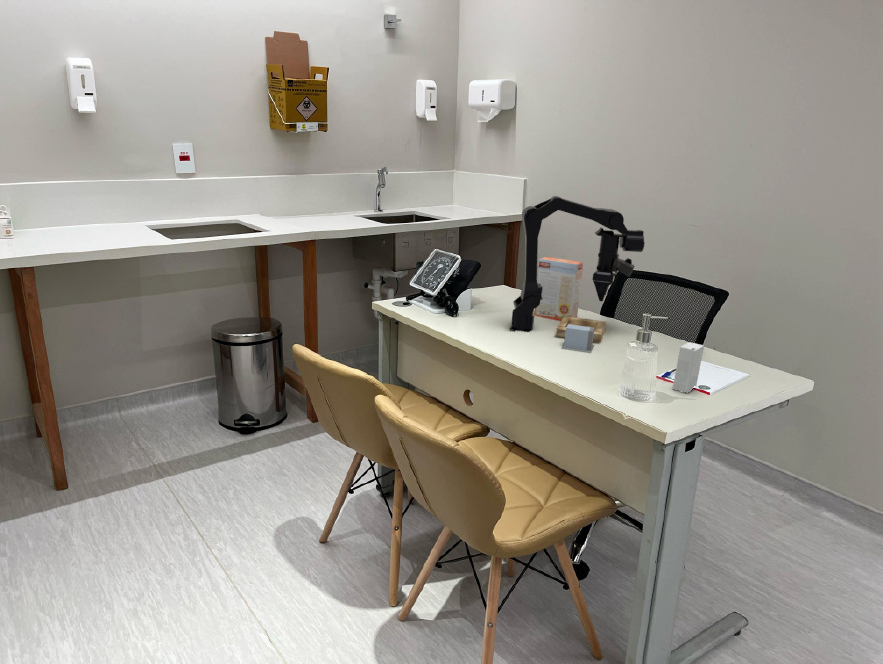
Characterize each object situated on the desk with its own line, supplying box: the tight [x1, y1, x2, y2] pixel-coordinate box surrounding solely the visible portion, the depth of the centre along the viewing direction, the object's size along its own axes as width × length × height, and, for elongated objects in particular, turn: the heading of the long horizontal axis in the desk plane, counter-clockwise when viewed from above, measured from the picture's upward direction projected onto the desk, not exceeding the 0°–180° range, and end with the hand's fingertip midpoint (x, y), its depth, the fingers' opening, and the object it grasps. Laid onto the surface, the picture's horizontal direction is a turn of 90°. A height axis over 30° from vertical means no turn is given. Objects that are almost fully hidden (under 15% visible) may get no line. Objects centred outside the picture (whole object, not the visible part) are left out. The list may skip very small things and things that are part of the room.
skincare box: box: [672, 342, 705, 394], centre depth 180 cm, size 6×4×12 cm
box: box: [563, 324, 595, 351], centre depth 210 cm, size 8×4×6 cm, turn 71°
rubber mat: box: [560, 343, 595, 354], centre depth 211 cm, size 9×9×1 cm
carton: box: [555, 316, 607, 344], centre depth 223 cm, size 14×16×4 cm
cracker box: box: [533, 256, 584, 322], centre depth 239 cm, size 14×6×21 cm, turn 58°
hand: (602, 298), depth 223 cm, fingers open, 9 cm apart
